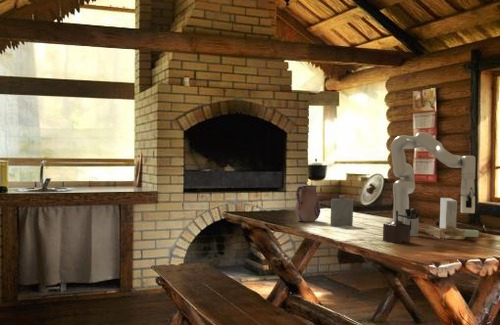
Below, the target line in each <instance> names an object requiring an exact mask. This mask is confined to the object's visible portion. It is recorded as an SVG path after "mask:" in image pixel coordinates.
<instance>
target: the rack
mask: <svg viewBox="0 0 500 325" xmlns="http://www.w3.org/2000/svg"><path fill="white" fill-rule="evenodd" d="M462 229H463V228H462ZM462 229H461V228H458V227H457V226H456V227H453V226H450V225H446V228H440V227H435V226H433V225H430V224H425V233H426V234H428V235H430V236H432V235H433V236H432V237H435V238H438V239H440V238H442V239H441V240H465V238H466V237H465V230H462ZM444 230H448V231H452V234H453V235H454V236H443V233H444ZM444 238H445V239H444Z"/></svg>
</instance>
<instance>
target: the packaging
mask: <svg viewBox="0 0 500 325" xmlns="http://www.w3.org/2000/svg"><path fill="white" fill-rule="evenodd" d="M439 207H440V208H439V209H440V211H439V228H446V225H450V226H453V227H456V228H457V218H458V217H457V214H458V213H457V211H458V200H456V199H453V198H451V197H440V205H439Z"/></svg>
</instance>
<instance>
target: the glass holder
mask: <svg viewBox="0 0 500 325" xmlns="http://www.w3.org/2000/svg"><path fill="white" fill-rule="evenodd" d="M411 209H412V208H409V209H405V212H404V213H405V216H410V215H411V212H410V210H411ZM416 210H417V211H418V213H417V214H416V215H415V217H413V218H406V217H405V224H407V225H410V237H419V236H420V234H419V225H420V224H419V222H420V221H419V219H420V218H419V216H420V214H419V209H416ZM404 213H403V214H404ZM403 214H402V215H403ZM402 222H403V217H402ZM403 223H404V222H403Z"/></svg>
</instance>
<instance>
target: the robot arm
mask: <svg viewBox="0 0 500 325" xmlns="http://www.w3.org/2000/svg"><path fill="white" fill-rule="evenodd" d="M419 148H423V149H424V150H426V152H429V153H430V154H431V155H433V157H435V159H436V160H438V161H439V162H441V163H442V164H444V165H445V166H446V167H449V168H457V169H458V168H461V184H460V196H467V201H466V208H471V207H472V197H473V196H475V192H476V191H475V189H476V188H475V186H476V185H475V180H476V157H475V155H458V154H453V153H451V152H450V151H448V150H447V149H445V148H444V146H443V143H442V142H440V141H439V140H437V139H435V138H434V137H433V135H432V133H430V132H427V131H420V132H417V133H416V134H414V135H405V134H402V135H398V136H397V137H395V138H394V139H393V141H392V142H391V145H390V151H391V152H390V153H391V163H392V171H393V174H394V176H395V177H396V178H400V179H398V180H396V181H395V182H394V183H393V185H392V193H393V210H392V212H393V213H392V214H393V215H392V218H393V219H392V220H391V221H389V222H387V221H385V223H384V224H386V223H391V222H393V221H396V211H398V214H399V215H402V214H403V213H404V212H405V209H410V198H409V194H413V192H414V191H415V189H416V182H415V181H416V179H415V172H414V168H413V166H412V165H411V164H410V163H408V162H407V158H406V157H407V156H406V153H405V150H413V149H419ZM403 215H404V216H405V213H404V214H403ZM398 221H402V217H401V216H398ZM403 222H404V224H405V217H403Z"/></svg>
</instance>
